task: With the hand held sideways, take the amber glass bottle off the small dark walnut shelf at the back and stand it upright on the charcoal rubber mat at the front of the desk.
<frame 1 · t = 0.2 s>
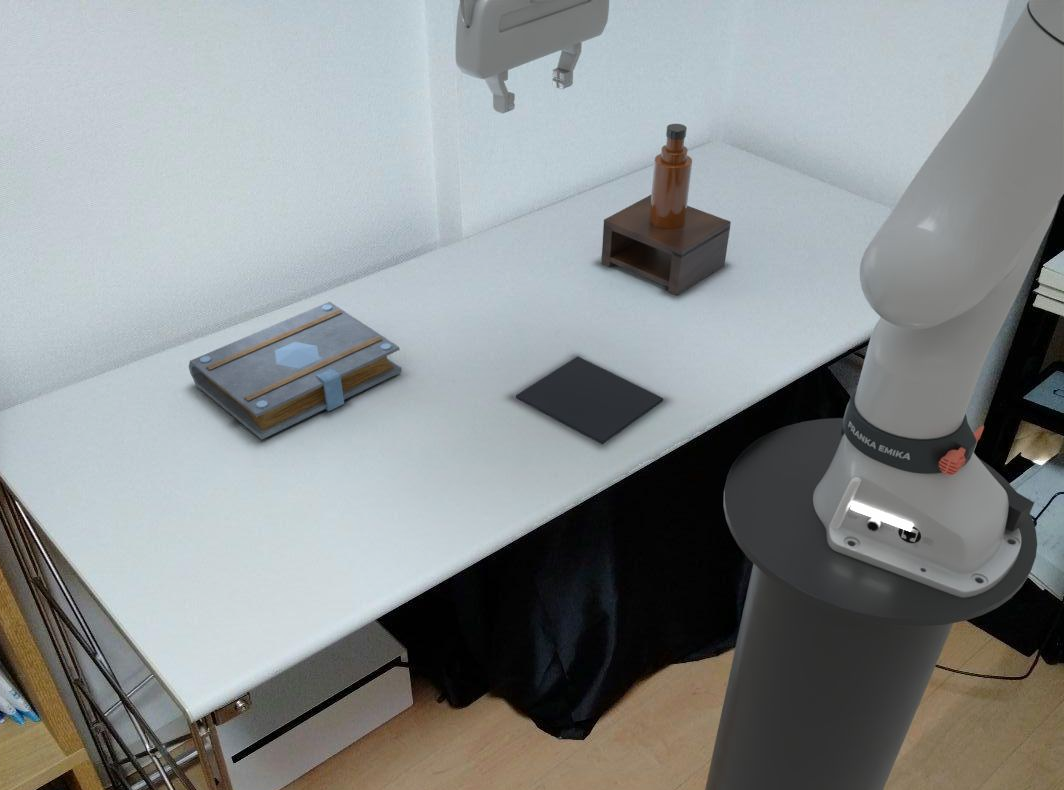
hand: (533, 98, 112), 34 cm above the table, tool pointing down, fingers open, 8 cm apart
book: (299, 381, 133), on the table
mat: (589, 399, 130), on the table
bottle: (667, 220, 150), point 7 cm above the table, touching shelf
shelf: (662, 264, 155), on the table
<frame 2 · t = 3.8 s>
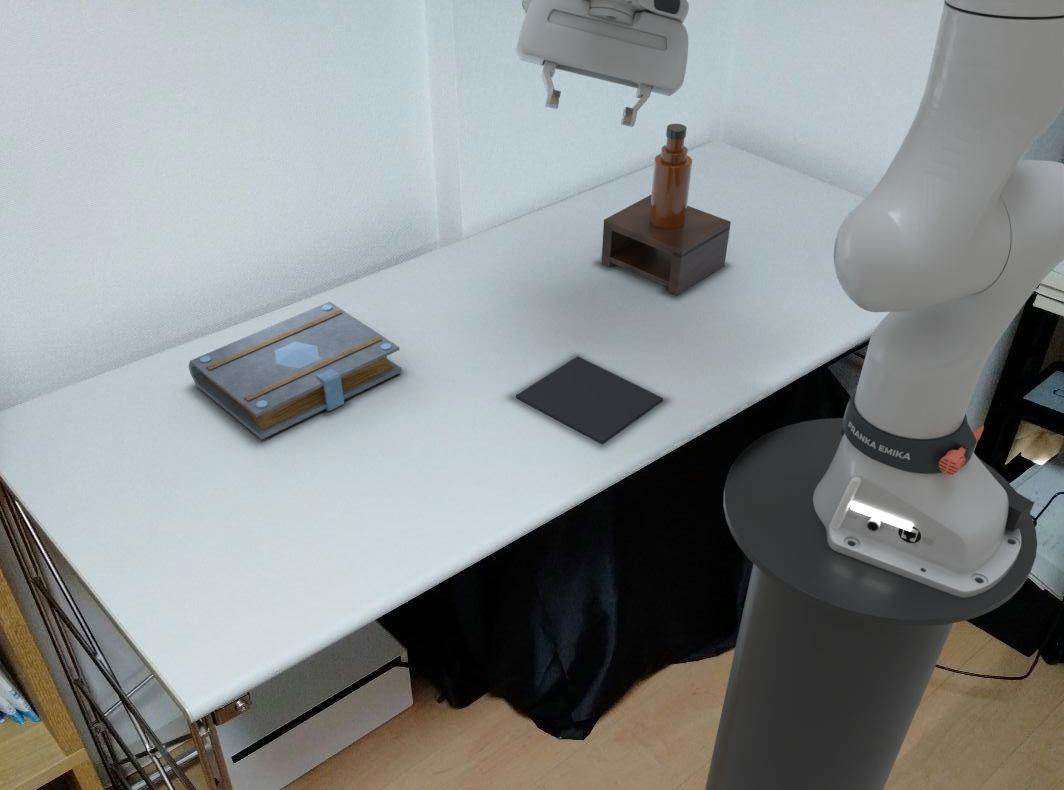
hand: (589, 116, 124), 28 cm above the table, tool tilted 35°, fingers open, 8 cm apart
nothing on the table moved.
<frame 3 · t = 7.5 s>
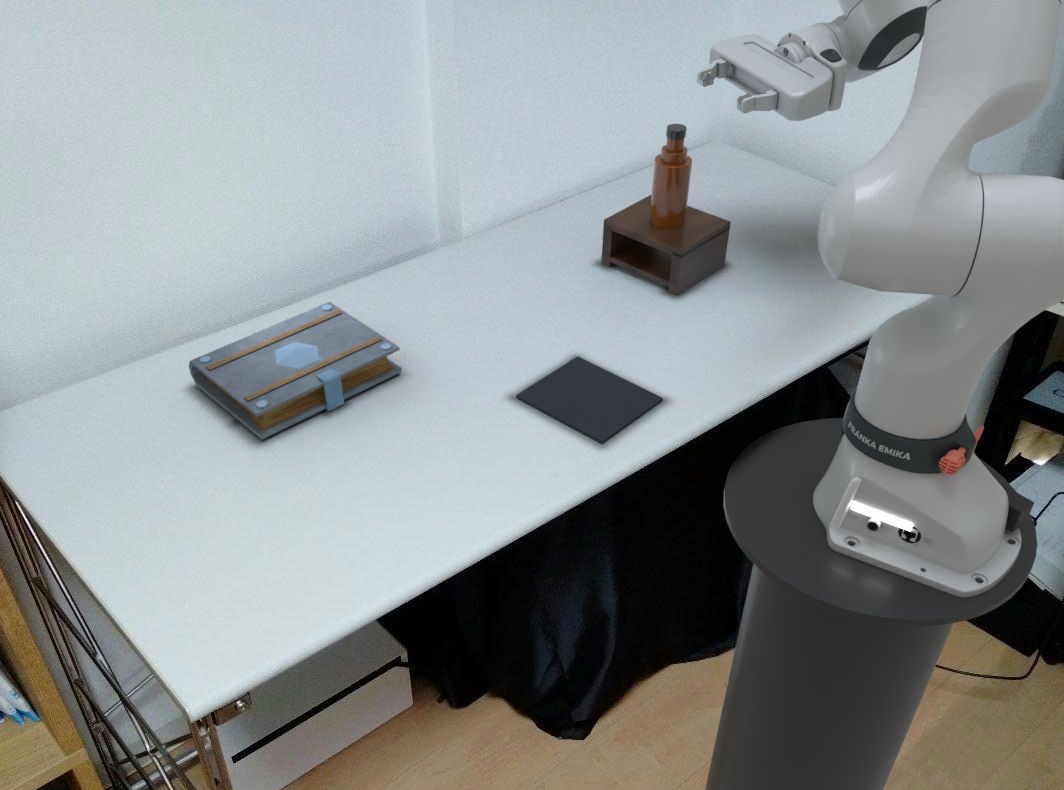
hand: (719, 92, 139), 25 cm above the table, tool horizontal, fingers open, 8 cm apart
nothing on the table moved.
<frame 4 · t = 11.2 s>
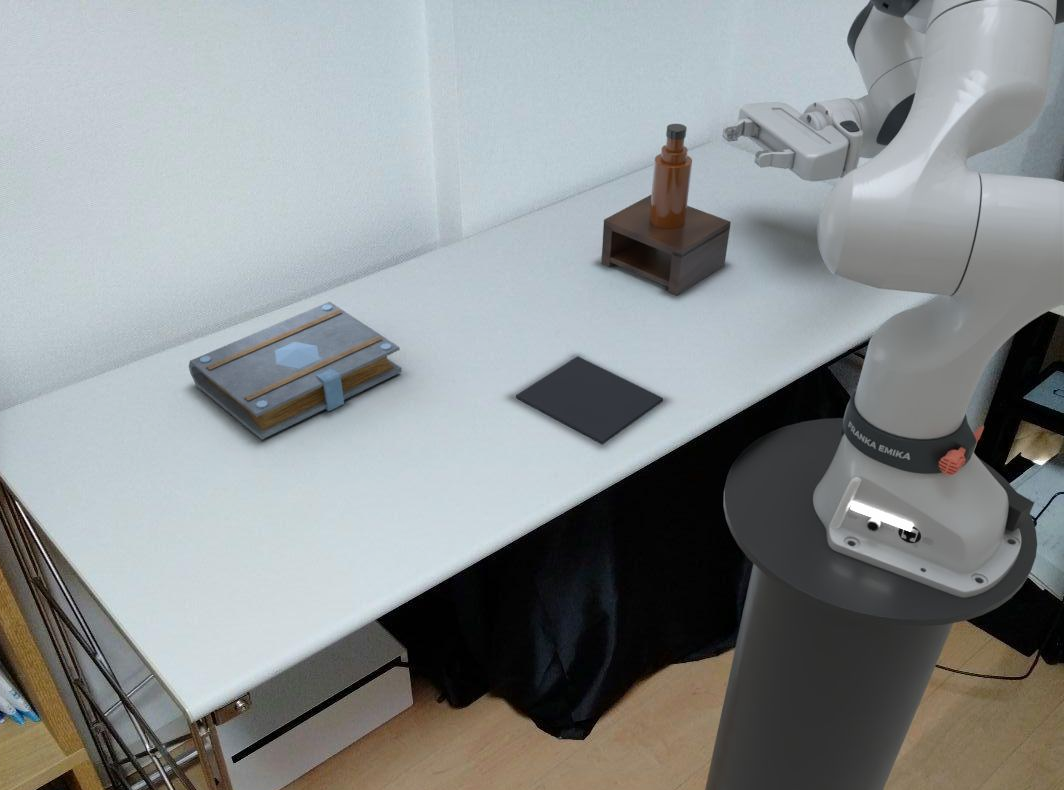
hand: (740, 146, 146), 16 cm above the table, tool horizontal, fingers open, 8 cm apart
nothing on the table moved.
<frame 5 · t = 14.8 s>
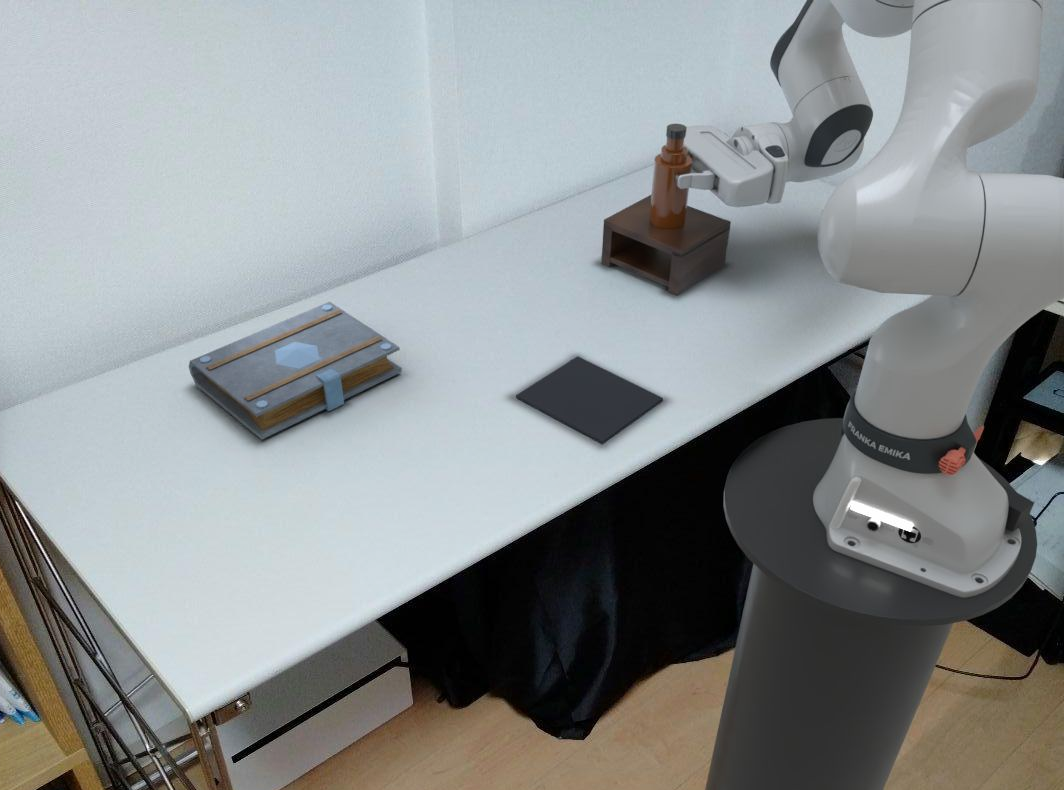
hand: (666, 171, 145), 14 cm above the table, tool horizontal, fingers closed on bottle, 5 cm apart
bottle: (667, 220, 150), point 7 cm above the table, touching gripper, shelf
everything else where it was.
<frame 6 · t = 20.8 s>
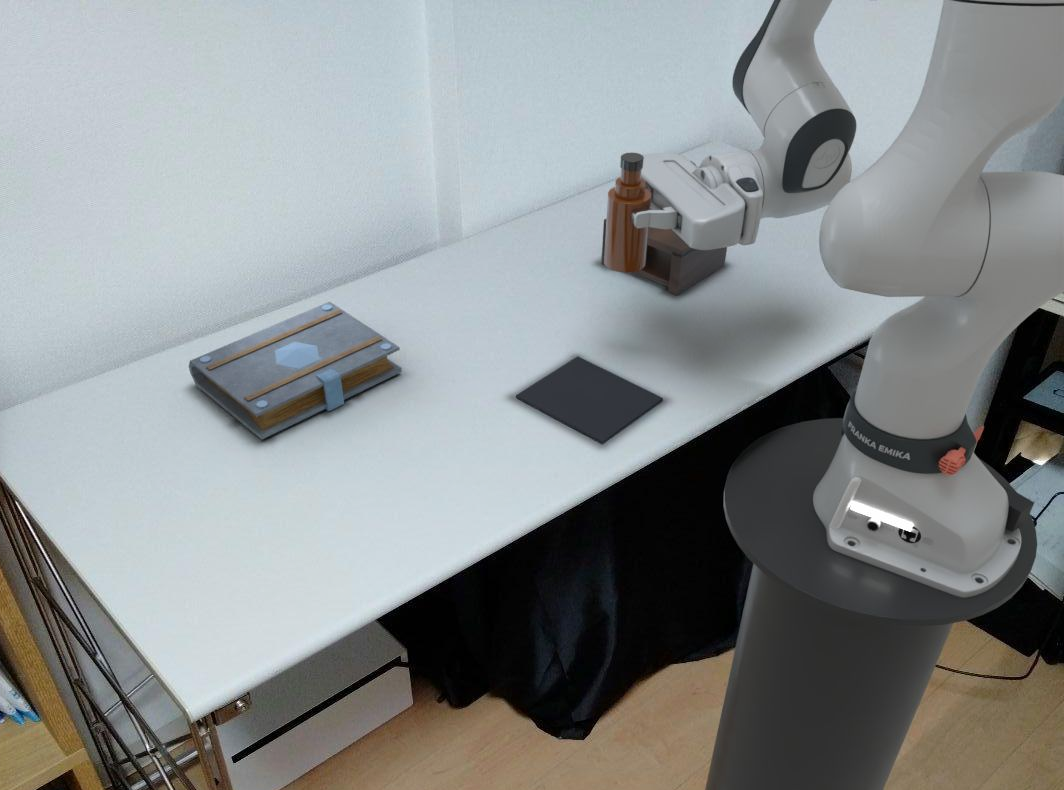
hand: (622, 208, 125), 20 cm above the table, tool horizontal, fingers closed on bottle, 5 cm apart
bottle: (624, 262, 130), point 12 cm above the table, touching gripper
everything else where it was.
when the fingers open (8 cm above the table, at t = 26.6 s): bottle stays where it is, resting on mat.
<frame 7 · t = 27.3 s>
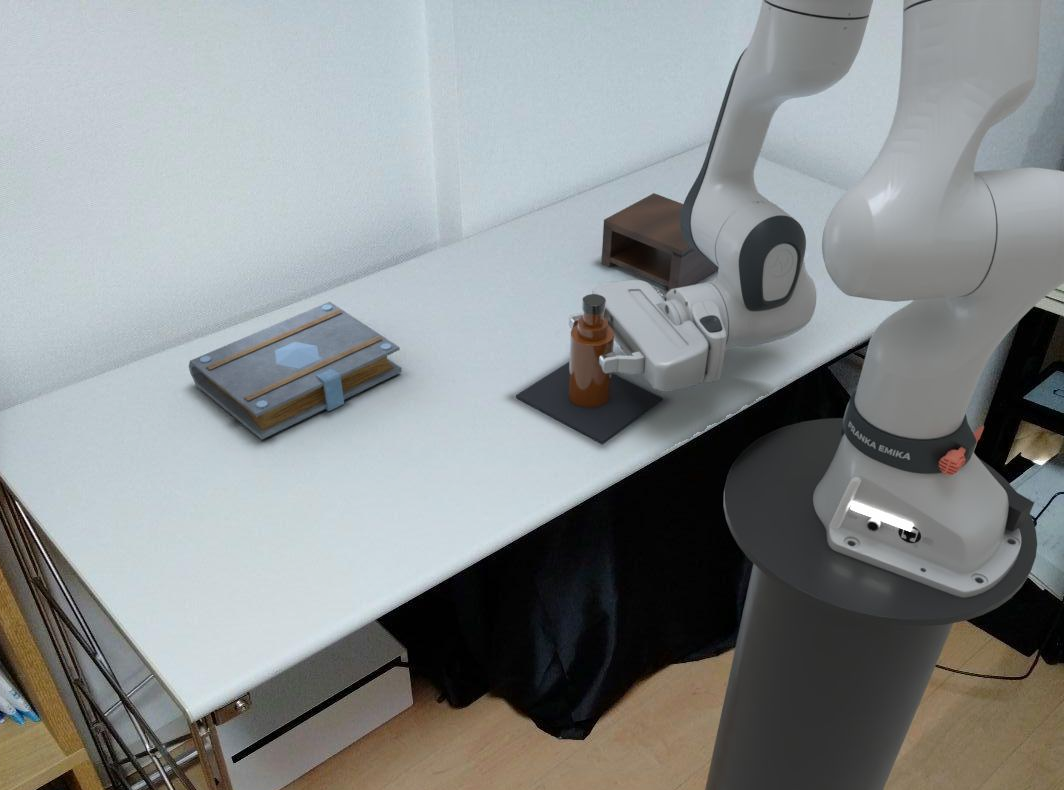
hand: (585, 343, 124), 8 cm above the table, tool horizontal, fingers open, 8 cm apart
bottle: (589, 395, 130), resting on mat
everything else where it was.
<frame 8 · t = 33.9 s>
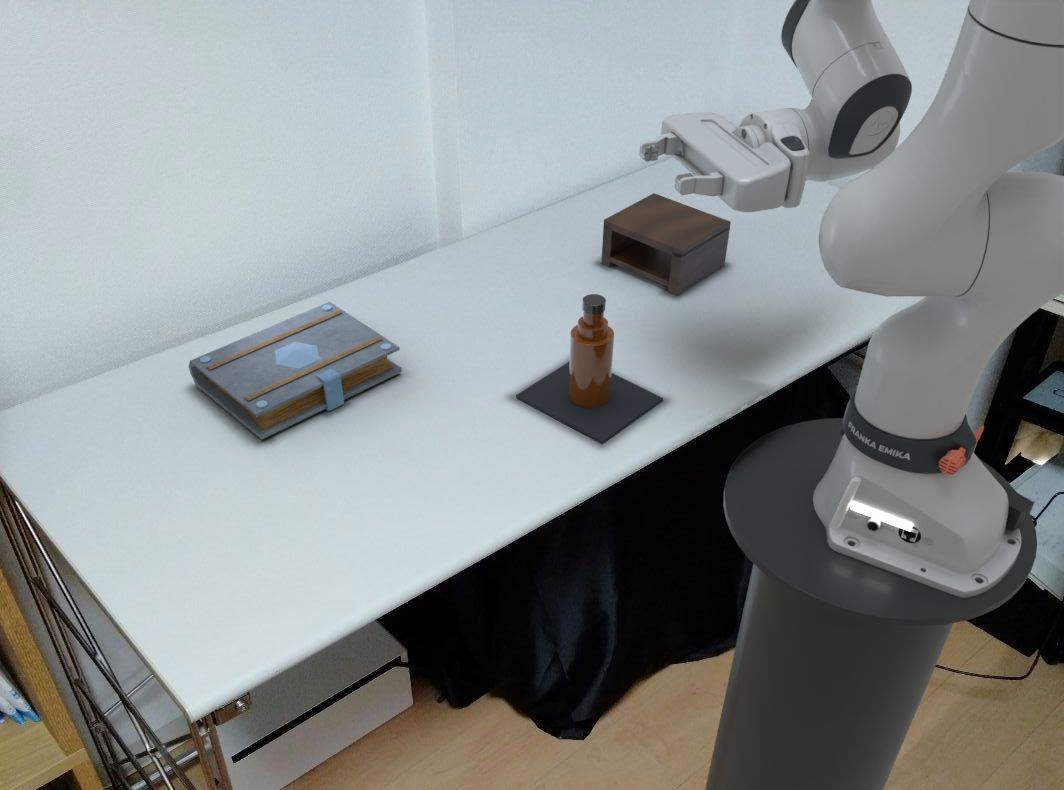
hand: (659, 168, 118), 26 cm above the table, tool horizontal, fingers open, 8 cm apart
nothing on the table moved.
at the end: bottle inside the target area on the mat (0.3 cm from its centre), point 0.4 cm above the mat's base; bottle tilted 0°; the gripper is holding nothing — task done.
